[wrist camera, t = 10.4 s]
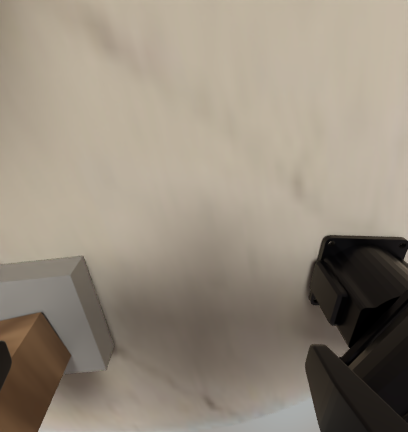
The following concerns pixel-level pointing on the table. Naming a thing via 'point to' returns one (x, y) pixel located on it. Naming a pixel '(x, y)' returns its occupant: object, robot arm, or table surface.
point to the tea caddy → (30, 371)
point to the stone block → (60, 307)
